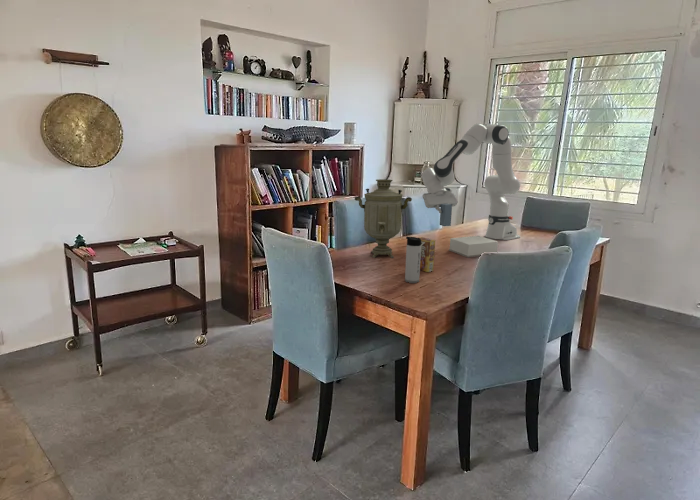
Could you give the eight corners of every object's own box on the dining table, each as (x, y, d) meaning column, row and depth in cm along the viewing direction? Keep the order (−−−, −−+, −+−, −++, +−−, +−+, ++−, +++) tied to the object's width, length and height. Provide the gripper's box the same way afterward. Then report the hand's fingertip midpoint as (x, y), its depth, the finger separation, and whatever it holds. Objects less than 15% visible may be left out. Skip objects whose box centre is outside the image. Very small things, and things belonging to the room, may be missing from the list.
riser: (477, 247, 268) (478, 235, 266) (497, 254, 253) (499, 241, 251) (448, 250, 259) (449, 238, 258) (467, 257, 245) (468, 244, 243)
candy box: (433, 271, 219) (436, 240, 216) (427, 272, 217) (429, 241, 213) (420, 266, 226) (421, 236, 222) (413, 268, 223) (415, 237, 219)
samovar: (344, 259, 237) (345, 181, 228) (361, 247, 261) (362, 176, 251) (401, 265, 228) (404, 184, 218) (412, 253, 251) (416, 179, 242)
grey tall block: (446, 224, 264) (447, 203, 261) (450, 225, 260) (452, 204, 257) (439, 224, 262) (440, 203, 259) (444, 226, 258) (445, 205, 255)
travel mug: (402, 279, 206) (404, 235, 202) (417, 278, 207) (419, 235, 202) (405, 283, 200) (407, 238, 195) (420, 283, 201) (423, 238, 196)
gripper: (423, 190, 259) (432, 210, 253) (453, 188, 267) (463, 207, 261) (419, 197, 264) (427, 216, 258) (448, 195, 272) (457, 214, 266)
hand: (445, 212), depth 260 cm, fingers closed on grey tall block, 4 cm apart
